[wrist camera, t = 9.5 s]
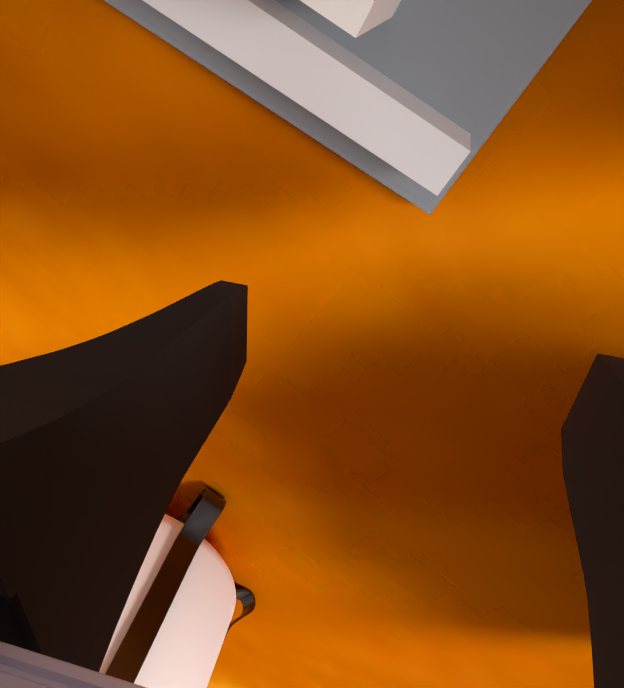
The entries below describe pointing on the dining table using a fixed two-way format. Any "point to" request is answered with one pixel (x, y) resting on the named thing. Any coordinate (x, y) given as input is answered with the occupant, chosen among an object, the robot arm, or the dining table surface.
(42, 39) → the dining table surface
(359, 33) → the block
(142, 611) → the coffee press
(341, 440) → the dining table surface
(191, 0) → the rail plate
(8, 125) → the dining table surface
